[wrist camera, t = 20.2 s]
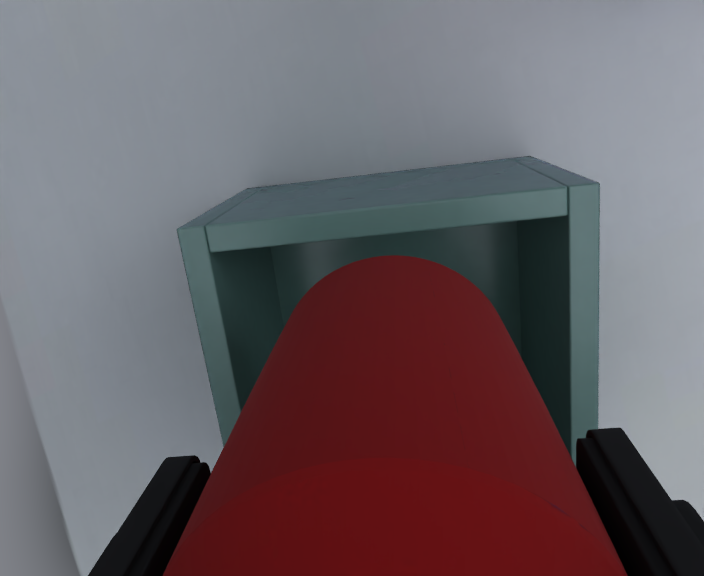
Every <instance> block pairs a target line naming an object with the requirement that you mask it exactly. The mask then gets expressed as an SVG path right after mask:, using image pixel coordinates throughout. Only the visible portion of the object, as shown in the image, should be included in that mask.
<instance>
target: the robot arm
mask: <svg viewBox="0 0 704 576" xmlns="http://www.w3.org/2000/svg"><path fill="white" fill-rule="evenodd" d="M576 469H577V471H578V473H579V475H580V477H581V479H582V481H583V483H584V485H585V487H586V489H587V491H588V493H589V495H590V497H591V499H592V501H593V504H594V506H595V508H596V510H597V512H598V514H599V516H600V518H601V520H602V522H603V525H604V527H605V529H606V531H607V533H608V535H609V537H610V539H611V541H612V543H613V546H614V548H615V550H616V552H617V554H618V556H619V558H620V560H621V562H622V564H623V567H624V569H625V571H626V573H627V575H628V576H704V521H703V520H702V518H701V517H700V516H699V514H698V513H697V512H696V510H695V509H694V508H693V507H692V506H691V505H690V504H689V502H686V501H684V500H673V501H672V500H671V499H670V497H669V496H668V494H667V493H666V492H665V490H664V489H663V487H662V486H661V484H660V483H659V481H658V480H657V479H656V477H655V476H654V474H653V473H652V471H651V470H650V468H649V467H648V466H647V464H646V463H645V461H644V460H643V458H642V457H641V455H640V454H639V453H638V451H637V450H636V448H635V447H634V445H633V444H632V442H631V441H630V440H629V438H628V437H627V435H626V434H625V432H624V431H623V430H622V429H621V428H607V429H592V430H588V431H587V433H586V438H578V439H577V442H576ZM210 475H211V473H210V469H209V466H208V464H207V463H205V462H202V463H200V460H199V458H198V457H197V456H195V455H194V456H179V457H168V458H166V459H165V460H164V461H163V463H162V464H161V466H160V467H159V469H158V470H157V472H156V473H155V475H154V477H153V478H152V480H151V481H150V483H149V484H148V486H147V487H146V489H145V490H144V492H143V494H142V495H141V497H140V498H139V500H138V501H137V503H136V504H135V506H134V507H133V509H132V511H131V512H130V514H129V515H128V517H127V518H126V520H125V521H124V523H123V525H122V526H121V528H120V529H119V531H118V532H117V533H116V535H115V536H114V537H113V538H112V540H111V541H110V543H109V544H108V546H107V547H106V549H105V550H104V552H103V553H102V555H101V556H100V558H99V560H98V561H97V563H96V564H95V566H94V567H93V569H92V570H91V572H90V573H89V575H88V576H163V574H164V572H165V569H166V567H167V565H168V563H169V561H170V559H171V557H172V555H173V553H174V550H175V548H176V546H177V544H178V542H179V540H180V538H181V536H182V534H183V532H184V529H185V527H186V525H187V523H188V521H189V519H190V517H191V515H192V513H193V510H194V508H195V506H196V504H197V502H198V500H199V498H200V496H201V494H202V491H203V489H204V487H205V485H206V483H207V481H208V479H209V477H210Z"/></svg>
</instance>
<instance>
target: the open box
mask: <svg viewBox="0 0 704 576" xmlns="http://www.w3.org/2000/svg"><path fill="white" fill-rule="evenodd" d="M599 217H600V184H599V183H598V182H595V181H593V180H590V179H588V178H585V177H583V176H580V175H578V174H575V173H573V172H570V171H567V170H565V169H562V168H560V167H557V166H555V165H552V164H550V163H547V162H545V161H542V160H540V159H537V158H534V157H531V156H525V157H517V158H508V159H499V160H491V161H482V162H473V163H464V164H456V165H447V166H438V167H430V168H421V169H412V170H404V171H395V172H386V173H378V174H369V175H360V176H352V177H343V178H334V179H326V180H317V181H308V182H299V183H291V184H282V185H273V186H265V187H256V188H247V189H246V190H244V191H242V192H240V193H238V194H237V195H235V196H233V197H231V198H230V199H228V200H226V201H225V202H223V203H221V204H219V205H218V206H216V207H214V208H212V209H211V210H209V211H207V212H205V213H204V214H202V215H200V216H199V217H197V218H195V219H193V220H192V221H190V222H188V223H186V224H185V225H183V226H181V227H179V228H178V229H177V233H178V238H179V242H180V247H181V252H182V256H183V261H184V265H185V270H186V275H187V279H188V284H189V289H190V293H191V298H192V302H193V307H194V312H195V316H196V321H197V326H198V330H199V335H200V339H201V344H202V349H203V353H204V358H205V363H206V367H207V372H208V376H209V381H210V386H211V390H212V395H213V400H214V404H215V409H216V413H217V418H218V423H219V427H220V432H221V437H222V441H223V446H225V444H226V442H227V440H228V438H229V436H230V434H231V432H232V430H233V428H234V426H235V424H236V421H237V419H238V417H239V415H240V413H241V411H242V409H243V407H244V405H245V403H246V401H247V399H248V397H249V395H250V393H251V391H252V389H253V387H254V385H255V383H256V381H257V379H258V377H259V375H260V373H261V371H262V369H263V367H264V365H265V363H266V362H267V360H268V358H269V356H270V354H271V352H272V350H273V348H274V346H275V344H276V342H277V340H278V338H279V336H280V334H281V333H282V331H283V329H284V327H285V325H286V323H287V321H288V319H289V318H290V316H291V314H292V312H293V310H294V309H295V307H296V305H297V304H298V303H299V301H300V300H301V299H302V297H303V296H304V295H305V294H306V293H307V292H308V290H309V289H310V288H312V287H313V286H314V285H315V284H316V283H317V282H318V281H320V280H321V279H322V278H324V277H325V276H326V275H328V274H330V273H331V272H333V271H335V270H337V269H339V268H341V267H342V266H345V265H347V264H350V263H352V262H355V261H359V260H362V259H366V258H371V257H378V256H390V255H399V256H411V257H417V258H422V259H426V260H430V261H433V262H436V263H439V264H441V265H444V266H446V267H448V268H450V269H452V270H454V271H456V272H457V273H459V274H461V275H462V276H464V277H465V278H467V279H468V280H469V281H470V282H472V283H473V284H474V285H475V286H476V287H477V288H479V289H480V290H481V291H482V293H483V294H484V295H485V296H486V297H487V298H488V299H489V301H490V302H491V303H492V305H493V306H494V308H495V309H496V311H497V313H498V314H499V316H500V318H501V320H502V322H503V324H504V326H505V328H506V329H507V331H508V333H509V335H510V337H511V339H512V341H513V343H514V344H515V346H516V348H517V350H518V352H519V354H520V356H521V358H522V360H523V362H524V364H525V366H526V368H527V370H528V372H529V374H530V376H531V378H532V380H533V382H534V384H535V386H536V388H537V390H538V391H539V393H540V395H541V397H542V399H543V401H544V403H545V405H546V407H547V409H548V411H549V413H550V415H551V417H552V420H553V422H554V424H555V426H556V428H557V430H558V432H559V434H560V436H561V438H562V440H563V442H564V444H565V446H566V448H567V450H568V452H569V454H570V456H571V458H572V460H573V462H574V464H575V466H576V442H577V439H578V438H586V433H587V431H588V430H592V429H598V366H599Z"/></svg>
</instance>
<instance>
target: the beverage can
mask: <svg viewBox="0 0 704 576" xmlns="http://www.w3.org/2000/svg"><path fill="white" fill-rule="evenodd" d="M163 576H628V575H627V573H626V571H625V569H624V567H623V564H622V562H621V560H620V558H619V556H618V554H617V552H616V550H615V548H614V546H613V543H612V541H611V539H610V537H609V535H608V533H607V531H606V529H605V527H604V525H603V522H602V520H601V518H600V516H599V514H598V512H597V510H596V508H595V506H594V504H593V501H592V499H591V497H590V495H589V493H588V491H587V489H586V487H585V485H584V483H583V481H582V479H581V477H580V475H579V473H578V471H577V469H576V466H575V464H574V462H573V460H572V458H571V456H570V454H569V452H568V450H567V448H566V446H565V444H564V442H563V440H562V438H561V436H560V434H559V432H558V430H557V428H556V426H555V424H554V422H553V420H552V417H551V415H550V413H549V411H548V409H547V407H546V405H545V403H544V401H543V399H542V397H541V395H540V393H539V391H538V390H537V388H536V386H535V384H534V382H533V380H532V378H531V376H530V374H529V372H528V370H527V368H526V366H525V364H524V362H523V360H522V358H521V356H520V354H519V352H518V350H517V348H516V346H515V344H514V343H513V341H512V339H511V337H510V335H509V333H508V331H507V329H506V328H505V326H504V324H503V322H502V320H501V318H500V316H499V314H498V313H497V311H496V309H495V308H494V306H493V305H492V303H491V302H490V301H489V299H488V298H487V297H486V296H485V295H484V294H483V293H482V291H481V290H480V289H479V288H477V287H476V286H475V285H474V284H473V283H472V282H470V281H469V280H468V279H467V278H465V277H464V276H462V275H461V274H459V273H457V272H456V271H454V270H452V269H450V268H448V267H446V266H444V265H441V264H439V263H436V262H433V261H430V260H426V259H422V258H417V257H411V256H399V255H390V256H378V257H371V258H366V259H362V260H359V261H355V262H352V263H350V264H347V265H345V266H342V267H341V268H339V269H337V270H335V271H333V272H331V273H330V274H328V275H326V276H325V277H324V278H322V279H321V280H320V281H318V282H317V283H316V284H315V285H314V286H313V287H312V288H310V289H309V290H308V292H307V293H306V294H305V295H304V296H303V297H302V299H301V300H300V301H299V303H298V304H297V305H296V307H295V309H294V310H293V312H292V314H291V316H290V318H289V319H288V321H287V323H286V325H285V327H284V329H283V331H282V333H281V334H280V336H279V338H278V340H277V342H276V344H275V346H274V348H273V350H272V352H271V354H270V356H269V358H268V360H267V362H266V363H265V365H264V367H263V369H262V371H261V373H260V375H259V377H258V379H257V381H256V383H255V385H254V387H253V389H252V391H251V393H250V395H249V397H248V399H247V401H246V403H245V405H244V407H243V409H242V411H241V413H240V415H239V417H238V419H237V421H236V424H235V426H234V428H233V430H232V432H231V434H230V436H229V438H228V440H227V442H226V444H225V446H224V448H223V450H222V452H221V454H220V456H219V458H218V460H217V462H216V464H215V466H214V468H213V471H212V473H211V475H210V477H209V479H208V481H207V483H206V485H205V487H204V489H203V491H202V494H201V496H200V498H199V500H198V502H197V504H196V506H195V508H194V510H193V513H192V515H191V517H190V519H189V521H188V523H187V525H186V527H185V529H184V532H183V534H182V536H181V538H180V540H179V542H178V544H177V546H176V548H175V550H174V553H173V555H172V557H171V559H170V561H169V563H168V565H167V567H166V569H165V572H164V574H163Z"/></svg>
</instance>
